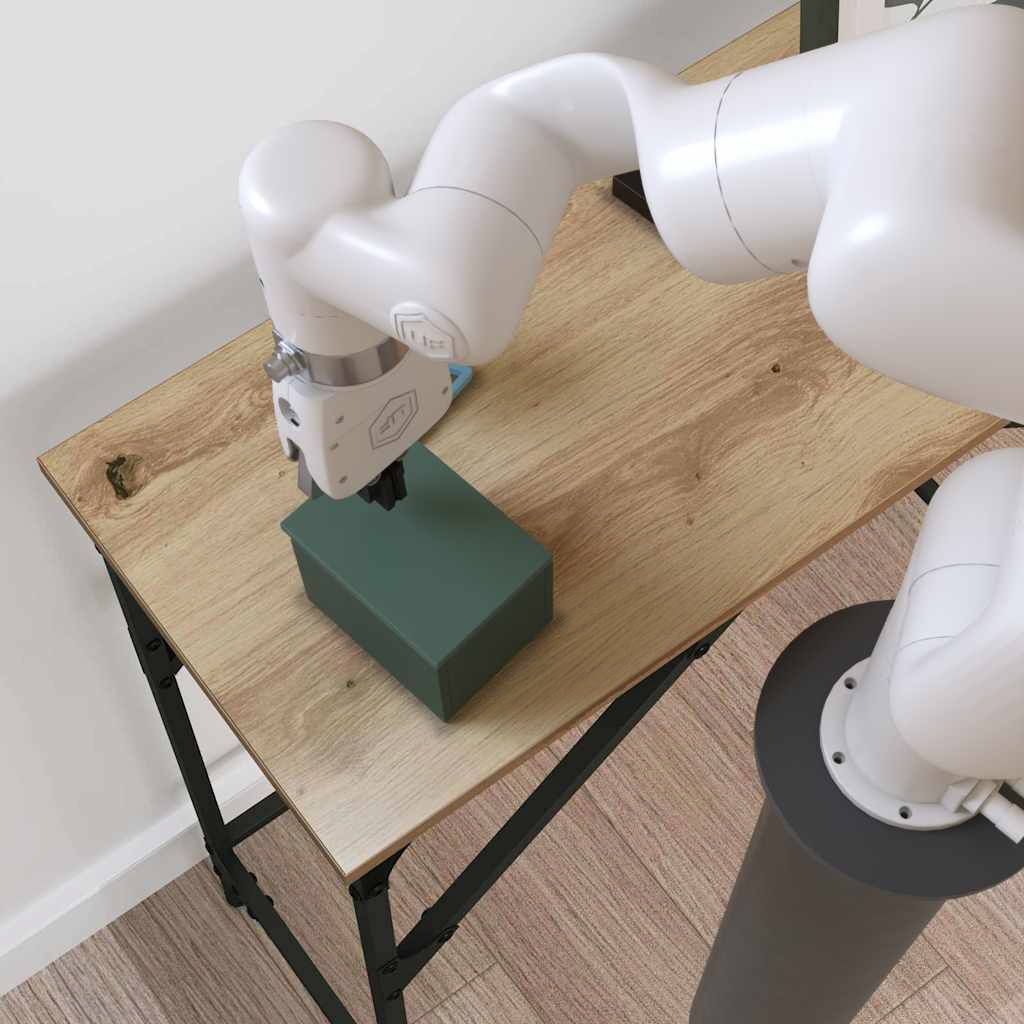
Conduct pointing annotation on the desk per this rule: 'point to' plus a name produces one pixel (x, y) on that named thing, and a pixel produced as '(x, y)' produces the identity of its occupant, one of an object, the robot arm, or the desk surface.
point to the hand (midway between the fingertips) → (381, 490)
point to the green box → (428, 684)
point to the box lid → (423, 555)
